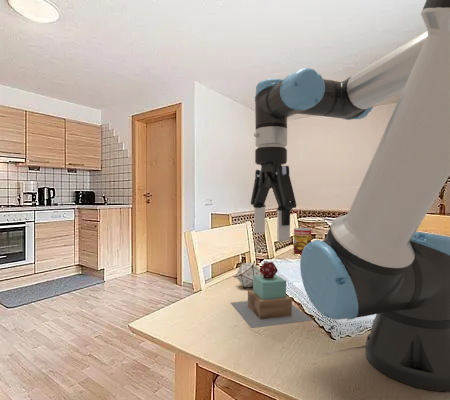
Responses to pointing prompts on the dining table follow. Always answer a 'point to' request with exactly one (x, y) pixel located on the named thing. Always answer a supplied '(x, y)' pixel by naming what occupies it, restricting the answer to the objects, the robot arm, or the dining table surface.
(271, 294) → the mid block
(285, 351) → the dining table surface
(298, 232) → the canned food
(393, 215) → the robot arm
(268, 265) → the dice
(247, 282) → the game die
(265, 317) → the base block
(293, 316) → the mat
